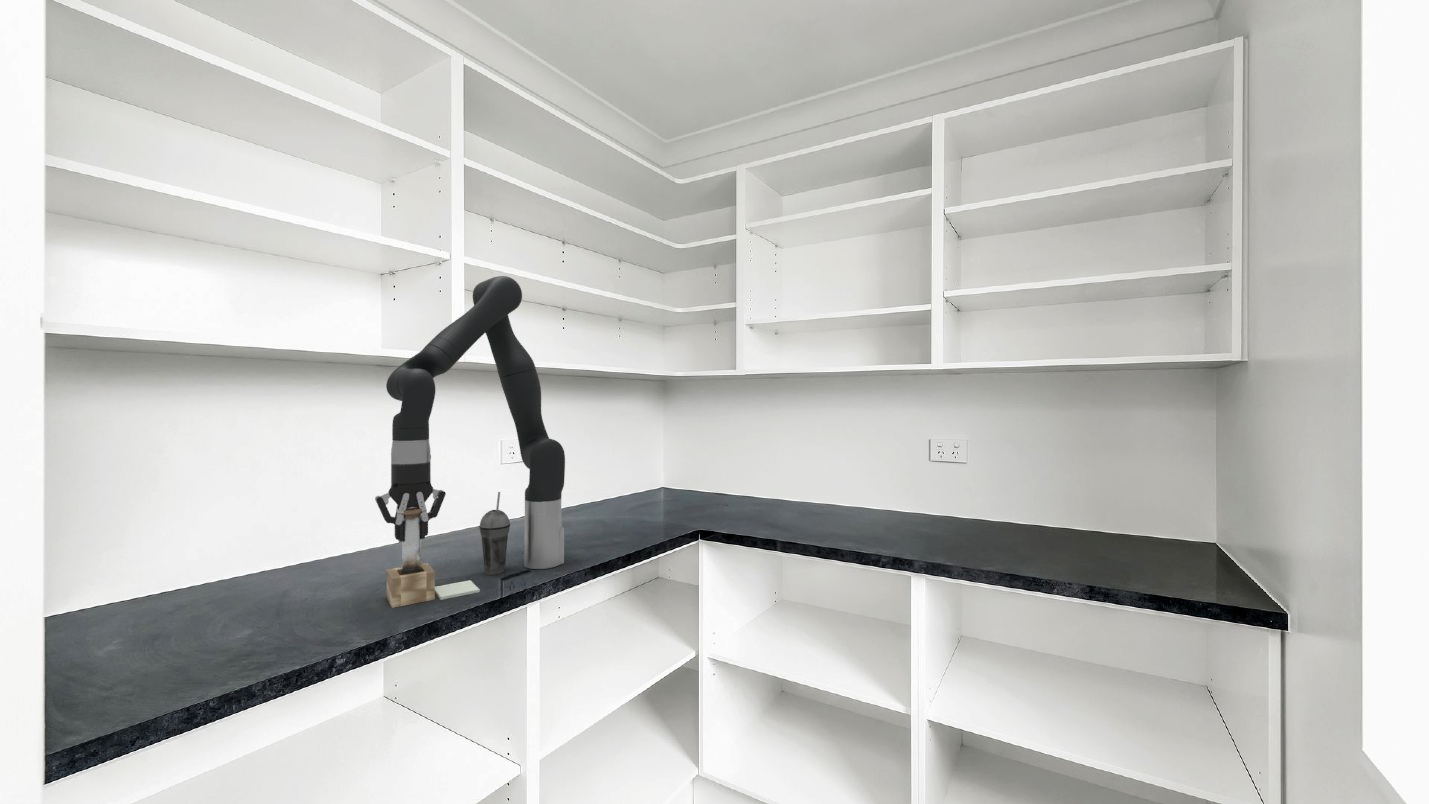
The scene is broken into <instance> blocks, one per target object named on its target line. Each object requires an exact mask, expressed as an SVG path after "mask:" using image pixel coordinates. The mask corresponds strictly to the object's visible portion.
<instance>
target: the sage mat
mask: <svg viewBox="0 0 1429 804" xmlns="http://www.w3.org/2000/svg"><path fill="white" fill-rule="evenodd" d="M480 591H481V589H480V588H479V587H478V586H477V585H476V584H475V583H474V582H473V581H472V580H464V581H460V582H459V581H458V582H454V583H449V584H443V585H437V586H436V585H435V595H437V597H438V599H439V600H441V601H442V600H448V599H451V598H457V597H462V596H466V595H467V596H468V595H472V594H477V593H480Z"/></svg>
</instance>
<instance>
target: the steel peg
mask: <svg viewBox="0 0 1429 804" xmlns="http://www.w3.org/2000/svg"><path fill="white" fill-rule="evenodd" d="M402 509H403V508H402ZM420 513H423V512H422V509H420V508H419V507H410V508H406V510H404V513H403V514H402V515H404V516H403V520H402V524H403V542H401V562H402V563H401V567H402V575H406V574H412V573H418V572H421V564H422V539H421V514H420Z"/></svg>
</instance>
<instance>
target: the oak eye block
mask: <svg viewBox="0 0 1429 804" xmlns="http://www.w3.org/2000/svg"><path fill="white" fill-rule="evenodd" d="M435 576H436V571H435V570H434V569H433V568H432V567H431V565H430V564H429V563H428V562H426V563H425V562H424V563H421V572H418V573H412V574H406V575H402V566H401V567H395V568H389V569H388V568H387V569H386V599H387V601H388V603H389V605H390V607H391V608H393V609H394V608H399V607H404V606H408V605H414V604H419V603H423V602H424V603H425V602H429V601H435V599H436V596H435V595H436V593H435V587H436V583H435V581H436V577H435Z"/></svg>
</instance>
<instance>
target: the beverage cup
mask: <svg viewBox="0 0 1429 804" xmlns="http://www.w3.org/2000/svg"><path fill="white" fill-rule="evenodd" d="M500 497H501V491H498V492H497V500H496V509H491V510H488V511H486V513H485V514H483V516H482V518H481V519H480V523H479V527H478V529H479V532H480V536H481V543H482V544H481V545H482V546H481V547H482V558H483V567H484V573H485V575H488V576H493V575H494V576H495V575H496V576H497V575H500V574H503V573H504V572H505V567H506V560H507V552H508V551H507V549H508V537H509V534H510V533H509V532H510V526H511V523H510V519H509V517H508V515H507V514H506V513H505V512H504V511H503V510H501V509H499V507H500Z"/></svg>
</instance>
